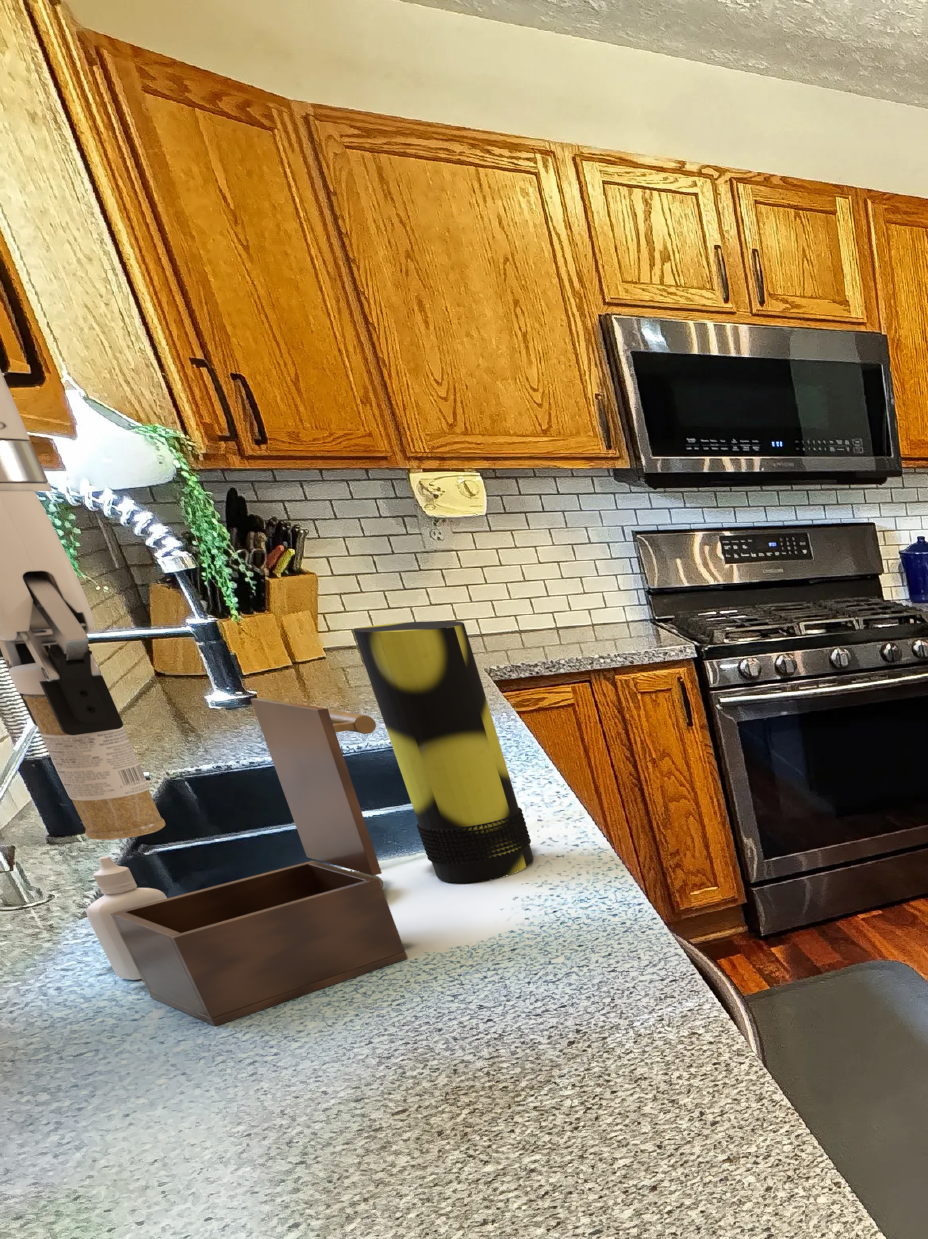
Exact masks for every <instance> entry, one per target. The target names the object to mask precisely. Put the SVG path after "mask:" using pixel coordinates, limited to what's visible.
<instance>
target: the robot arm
mask: <svg viewBox="0 0 928 1239" xmlns="http://www.w3.org/2000/svg"><path fill="white" fill-rule="evenodd" d="M52 491H53V490H52V487H51V485H50V483H49V479H48V478H47V475H46V473H45V470H44V468H43V465H42V464H41V461H40V459H39V456H38V454H37V452H36V449H35V447H34V444H33V442H32V441H31V438H30V435H29V434H28V430H27V429H26V427H25V424H24V421H23V419H22V417H21V415H20V412H19V410H18V407H17V405H16V402H15V400H14V398H13V395H12V393H11V391H10V388H9V386H8V384H7V382H6V378H5V377H4V373H3V372H2V370H1V368H0V651H1V654H2V656H3V659H4V662H5V664H6V666H7V669H8V670H9V669H10V668H12V667H15V666H20V665H25V664H32V663H37V665H38V667H39V669H40V671H41V673H42V674H43V676H44V678H45V679H46V680H47V681H39V682H40V685H41V687H42V689H43V691H44V693H45V695H46V698H47V700H48V702H49V704H50V706H51V708H52V711H53V713H54V715H55V717H56V719H57V722H58V724H59V726H60V728H61V730H62V732H63V733H65V734H68V735H80V734H87V733H94V732H101V731H108V730H115V729H120V728H122V727H123V728H124V722H123V719H122V718H121V715H120V713H119V711H118V708H117V706H116V704H115V701H114V698H113V697H112V694H111V692H110V690H109V688H108V684H107V683H106V680H105V678H104V676H103V674H102V672H101V668H100V666H99V664H98V663H97V660H96V659H95V656H94V655H93V651H92V650H91V649H90V648H91V647H90V646H89V642H90V640H89V636H88V634H89V633H90V632H91V631H92V630H93V629H94V628H95V626H96V624H95V620H94V615H93V612H92V609H91V607H90V605H89V601H88V599H87V597H86V594H85V591H84V588H83V586H82V584H81V582H80V580H79V578H78V576H77V573H76V571H75V569H74V567H73V565H72V563H71V560H70V558H69V556H68V554H67V552H66V550H65V548H64V546H63V544H62V541H61V540H60V538H59V535H58V533H57V531H56V530H55V527H54V526H53V522H52V519H50V517H49V516H48V513H47V512H46V510H45V508H44V505H43V504H42V503H41V501H40V499H39V497H38V495H37V493H36V492H52ZM101 674H102V675H101ZM18 694H19V696H20V699H21V700H22V702H23V705H24V706H25V709H26V711H27V712H28V715H29V718H31V721H32V723H33V725H35V726H36V727H38V726H37V724H36V721H35V720H34V718H33V716H32V713H31V710H30V709H29V707H28V704H27V702H26V700H25V699H24V698H23V695H24V694H21V693H18Z"/></svg>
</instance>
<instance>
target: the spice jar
mask: <svg viewBox="0 0 928 1239" xmlns="http://www.w3.org/2000/svg"><path fill="white" fill-rule="evenodd" d="M8 673H9V676H10V678H11V681H12V683H13V685H14V688H15V689H16V692H17V693H18V694H19V693H21V694H24V695H23V698H24V699H25V700H26V702H27V704H28V707H29V709H30V710H31V713H32V716H33V718H34V720H35V721H36V724H37V726H36V727H37V728H38V732H39V733H40V737H41V739H42V741H43V744H44V745H45V748H46V750H47V752H48V754H49V757H50V759H51V762H52V764H53V766H54V768H55V770H56V773H57V774H58V777H59V779H60V781H61V783H62V785H63V787H64V790H65V791H66V793H67V796H68V798H69V799H70V800H71V801H72V803H73V806H74V808H75V810H76V812H77V814H78V817H79V818H80V820H81V822H82V825H83V827H84V829H85V831H84V833H85V836H86V837H88V838H89V839H91V840H96V841H115V840H125V839H130V838H136V837H142V836H145V835H149V834H153V833H156V832H158V831H160V830H162V829H163V828H164V827H166V822H165V819H164V818H163V817H162V816H161V815H160V812H159V810H158V808H157V805H156V803H155V801H154V798H153V797H152V793H151V791H150V786H149V783H148V780H147V779H146V776H145V774H144V771H143V769H142V767H141V764H140V762H139V759H138V757H137V755H136V753H135V751H134V747H133V746H132V744H131V742H130V739H129V737H128V734H127V732H126V730H125V727H124V726H123V727H122V728H120V729H115V730H108V731H101V732H94V733H87V734H80V735H68V734H65V733H63V732H62V730H61V728H60V726H59V724H58V722H57V719H56V717H55V715H54V713H53V711H52V708H51V706H50V704H49V702H48V700H47V698H46V695H45V693H44V691H43V689H42V687H41V685H40V682H39V681H47V680H46V679H45V678H44V676H43V674H42V673H41V671H40V669H39V667H38V665H37V663H32V664H25V665H20V666H15V667H12V668H10V669H8ZM101 675H102V676H103V673H101Z"/></svg>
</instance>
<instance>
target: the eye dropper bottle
mask: <svg viewBox="0 0 928 1239" xmlns="http://www.w3.org/2000/svg"><path fill="white" fill-rule="evenodd" d="M98 860H99V866H100V868H99V870H96V871H95V872H94V873H93V874H92V876H93V879H94V881H95V882H96V884H97V886H98V888H99V890H100V892H101V894H102V896H101V897H99V898H97V899H96V900H94V901H93V902H92V903H91V904H89V905H88V907H87V908H86V911H85V913H86V916H87V919H88V921H89V924H90V926H91V927H92V929H93V932H94V934H95V936H96V938H97V940H98V942H99V944H100V946H101V948H102V950H103V952H104V954H105V956H106V958H107V960H108V962H109V964H110V966H111V968H112V970H113V972H114V974H115V976H116V977H117V978H119V979H122V980H128V981H129V980H130V981H137V980H142V978H141V976H140V974H139V972H138V970H137V968H136V965H135V963H134V961H133V959H132V957H131V955H130V953H129V951H128V949H127V947H126V945H125V943H124V941H123V939H122V937H121V935H120V933H119V931H118V929H117V927H116V925H115V923H114V921H113V919H112V917H111V914H110V913H114V912H117V911H121V910H125V909H129V908H133V907H137V906H140V905H144V904H148V903H152V902H156V901H160V900H163V899H167V898H168V897H167V896H166V894H165V893H164V892H163V891H161V890H159V889H157V888H151V887H138V884H137V883H136V881H135V878H134V877H133V874H132V872H131V870H130V868H129V867H127V866H120V865H118V864H116V863H115V862H114V861H113V859H112V858H111V857H110V856H108V855H105V856H101V857H98Z"/></svg>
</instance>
